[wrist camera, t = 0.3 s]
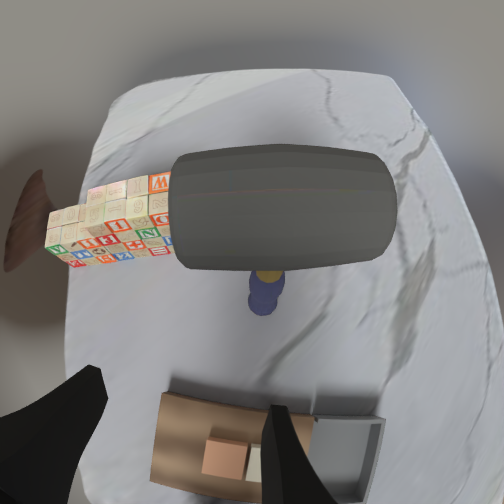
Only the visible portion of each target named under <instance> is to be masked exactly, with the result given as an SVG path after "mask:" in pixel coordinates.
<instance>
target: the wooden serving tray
mask: <svg viewBox="0 0 504 504" xmlns="http://www.w3.org/2000/svg"><path fill="white" fill-rule="evenodd" d="M268 412H269V410H262V409H255V408H248V407H241V406H235V405H229V404H223V403H218V402H213V401H208V400H203V399H198V398H193V397H189V396H185V395H180V394H176V393H172V392H168V391H167V392H163V393H162V395H161V401H160V407H159V413H158V420H157V427H156V434H155V441H154V449H153V456H152V465H151V474H150V481H151V482H154V483H158V484H161V485H165V486H168V487H172V488H176V489H179V490H183V491H188V492H192V493H196V494H201V495H206V496H211V497H217V498H222V499H229V500H235V501H243V502H251V503H261V504H262V487H261V482H253V481H245V477H246V470H247V465H248V460H249V454H250V449H251V444H252V443H253V444H261V438H262V430H263V427H264V424H265V421H266V418H267V415H268ZM289 414H290V417H291V420H292V423H293V426H294V428H295V431H296V433H297V436H298V438H299V441H300V443H301V445H302V447H303V449H304V452H305V454H306V456H307V455H308V450H309V445H310V440H311V435H312V430H313V424H314V419H315V417H313V416H312V415H310V414H300V413H289ZM209 436H210V437H215V438H221V439H226V440H232V441H239V442H245V443H248V447H247V453H246V458H245V464H244V469H243V474H242V479H241V480H238V479H231V478H225V477H219V476H214V475H208V474H203V473H201V472H202V466H203V460H204V453H205V447H206V441H207V438H208V437H209Z"/></svg>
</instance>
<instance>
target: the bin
mask: <svg viewBox="0 0 504 504" xmlns="http://www.w3.org/2000/svg"><path fill="white" fill-rule="evenodd" d="M312 416H313V417H315V419H314V424H313V430H312V435H311V440H310V445H309V450H308V455H307V458H308V460H309V461H310V463H311V465H312V467H313V469H314V470H315V472H316V474H317V475H318V477H319V479H320V480H321V482H322V483H323V485H324V486H325V488H326V489H327V490H328V492H329V493H330V494H331V496H332V497H333V498H334V499H335V500H336V502H337V503H338V504H366V502H367V499H368V496H369V492H370V489H371V485H372V482H373V478H374V474H375V470H376V466H377V462H378V458H379V453H380V449H381V444H382V439H383V434H384V428H385V423H386V419H384V418H381V417H377V416H338V415H315V414H312Z"/></svg>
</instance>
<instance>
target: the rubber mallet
mask: <svg viewBox="0 0 504 504" xmlns="http://www.w3.org/2000/svg"><path fill="white" fill-rule="evenodd" d="M168 219H169V227H170V235H171V240H172V244H173V248H174V251H175V254H176V256H177V259H178V260H179V261H180V262H181V263H182V264H183V265H184V266H185V267H186V268H189V269H201V270H230V271H252V272H251V275H250V279H249V288H250V292H251V293H250V295H249V298H248V304H249V307H250V309H251V310H252V311H253V312H254V313H255V314H257V315H260V316H262V315H268V314H271V313H272V311H273V310H274V309H275V308H276V306H277V297H278V296H279V295H280V294H281V293H282V290H283V287H284V283H285V272H284V271H289V270H299V269H308V268H318V267H327V266H335V265H342V264H349V263H356V262H363V261H370V260H373V259H375V258H377V257H379V256H381V255H382V254H383V253H384V251H385V250H386V248H387V247H388V245H389V244H390V242H391V240H392V237H393V234H394V231H395V227H396V219H397V195H396V190H395V186H394V182H393V178H392V176H391V174H390V172H389V170H388V168H387V166H386V165H385V163H384V162H383V161H382V160H381V159H380V158H379V157H378V156H377V155H375V154H372V153H367V152H361V151H354V150H346V149H339V148H331V147H321V146H308V145H292V144H270V145H255V146H243V147H232V148H223V149H216V150H208V151H201V152H195V153H188V154H185V155H182V156H180V157H179V158H178V159H177V160H176V162H175V163H174V165H173V167H172V169H171V174H170V179H169V188H168Z"/></svg>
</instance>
